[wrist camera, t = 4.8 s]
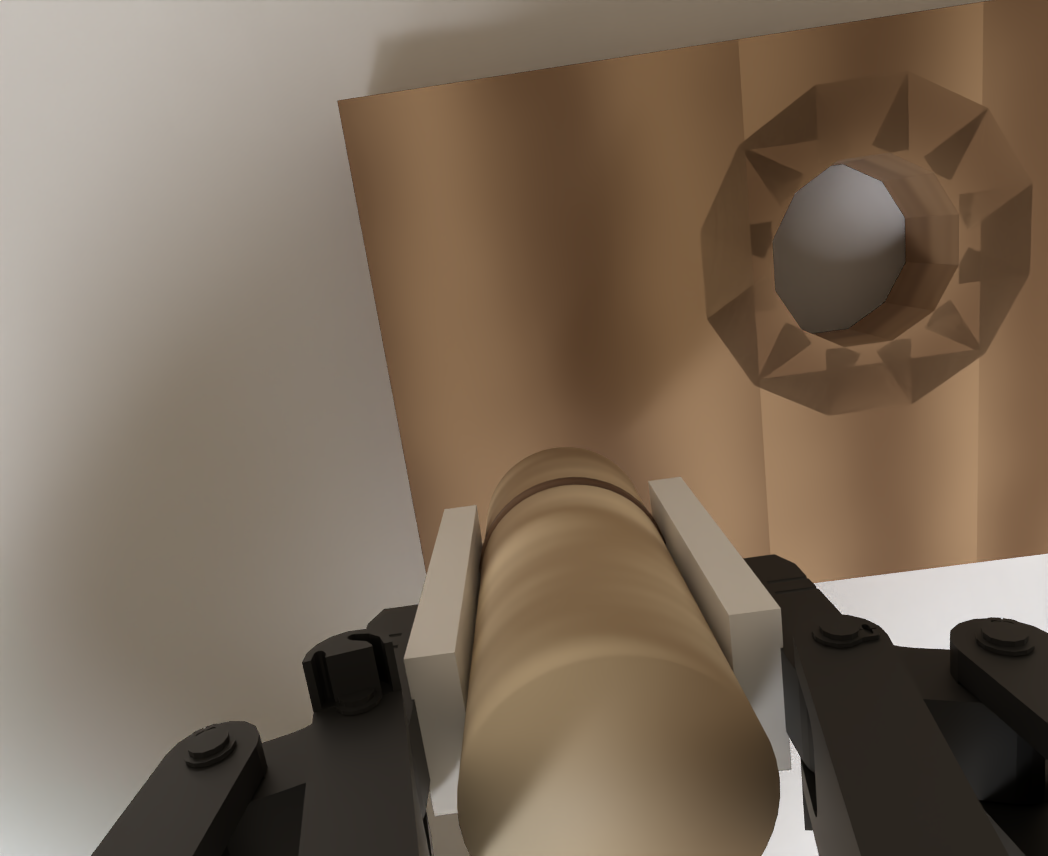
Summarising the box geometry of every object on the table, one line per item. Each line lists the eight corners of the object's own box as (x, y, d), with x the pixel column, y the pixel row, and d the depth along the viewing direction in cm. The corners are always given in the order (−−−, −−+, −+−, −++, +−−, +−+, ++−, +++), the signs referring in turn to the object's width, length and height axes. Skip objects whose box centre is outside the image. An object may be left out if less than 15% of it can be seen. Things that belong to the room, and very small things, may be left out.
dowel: (499, 607, 19) (483, 959, 10) (472, 459, 18) (424, 680, 9) (654, 583, 19) (797, 913, 9) (633, 432, 18) (768, 626, 9)
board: (446, 588, 27) (436, 630, 24) (361, 118, 23) (337, 100, 20) (1006, 516, 26) (1067, 551, 23) (1017, 19, 22) (1092, -16, 19)
